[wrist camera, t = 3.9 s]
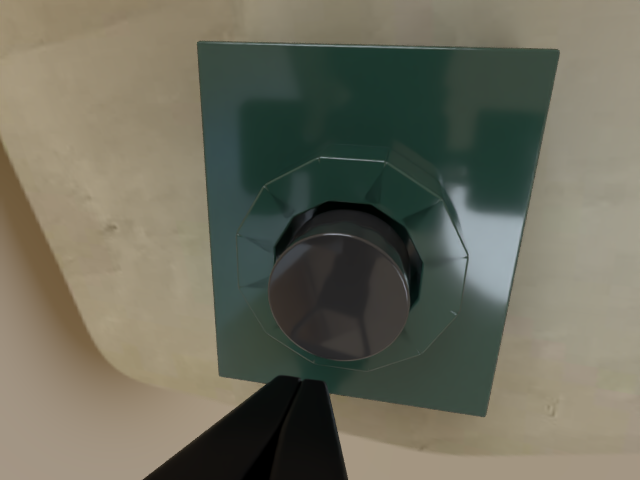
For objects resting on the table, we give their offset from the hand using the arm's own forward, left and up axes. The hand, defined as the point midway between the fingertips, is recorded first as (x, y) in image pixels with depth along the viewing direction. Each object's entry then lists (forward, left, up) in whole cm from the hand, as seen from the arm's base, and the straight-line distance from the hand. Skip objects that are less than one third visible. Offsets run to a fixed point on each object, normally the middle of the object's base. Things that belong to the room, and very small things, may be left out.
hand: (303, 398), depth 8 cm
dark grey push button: (0, 0, -6) cm, 6 cm away
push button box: (0, 0, -11) cm, 11 cm away
